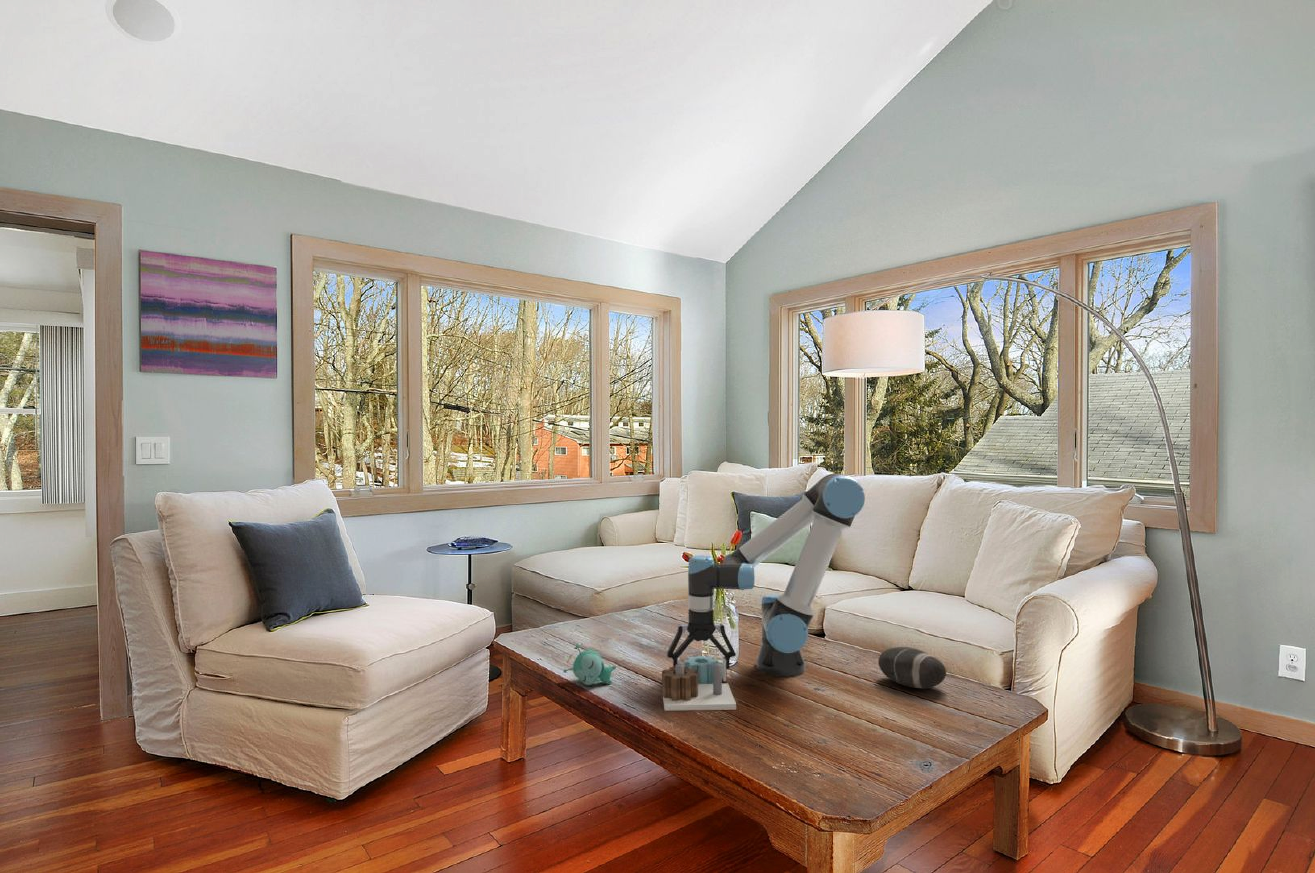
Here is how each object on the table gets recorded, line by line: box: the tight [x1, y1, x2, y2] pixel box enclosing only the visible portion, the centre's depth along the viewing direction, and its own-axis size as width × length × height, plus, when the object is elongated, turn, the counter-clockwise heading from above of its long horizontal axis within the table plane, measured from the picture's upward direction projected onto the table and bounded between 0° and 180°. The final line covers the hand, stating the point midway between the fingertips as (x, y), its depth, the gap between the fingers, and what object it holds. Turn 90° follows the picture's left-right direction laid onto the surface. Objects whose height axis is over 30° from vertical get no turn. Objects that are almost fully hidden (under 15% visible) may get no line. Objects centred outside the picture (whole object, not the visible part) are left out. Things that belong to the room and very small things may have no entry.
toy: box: [563, 644, 617, 686], centre depth 203 cm, size 10×10×15 cm
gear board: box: [662, 662, 737, 712], centre depth 190 cm, size 19×15×10 cm
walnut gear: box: [661, 666, 698, 701], centre depth 190 cm, size 10×10×6 cm
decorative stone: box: [877, 646, 947, 689], centre depth 201 cm, size 19×14×10 cm
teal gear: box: [683, 655, 719, 684], centre depth 204 cm, size 10×10×6 cm
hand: (701, 680), depth 204 cm, fingers open, 13 cm apart
